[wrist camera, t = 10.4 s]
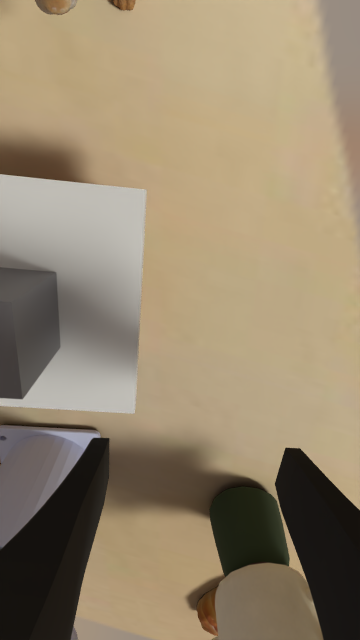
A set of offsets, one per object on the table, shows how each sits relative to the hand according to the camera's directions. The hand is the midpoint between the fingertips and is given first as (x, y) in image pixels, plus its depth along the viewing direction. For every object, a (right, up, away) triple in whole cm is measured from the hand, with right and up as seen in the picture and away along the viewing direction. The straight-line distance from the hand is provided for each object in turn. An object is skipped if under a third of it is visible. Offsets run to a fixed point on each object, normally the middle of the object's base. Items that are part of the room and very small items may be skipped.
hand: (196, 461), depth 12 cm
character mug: (+5, -11, +16) cm, 20 cm away
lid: (-9, +7, +3) cm, 11 cm away
